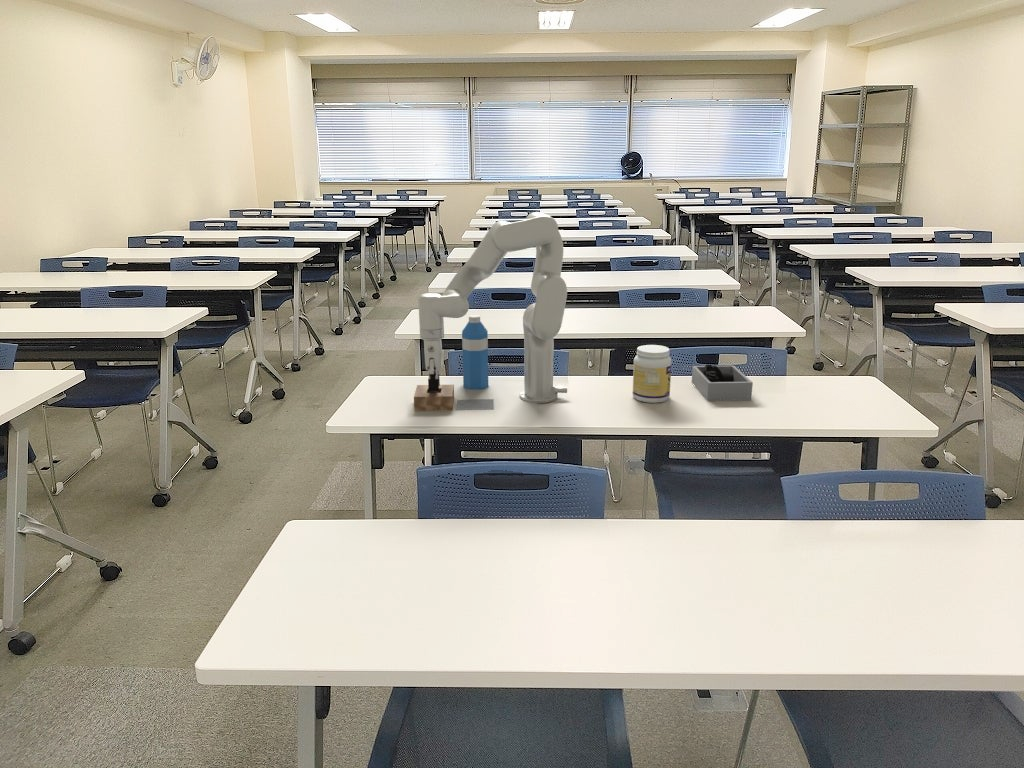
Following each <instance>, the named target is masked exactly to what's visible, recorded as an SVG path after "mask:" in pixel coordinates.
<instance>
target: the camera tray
mask: <svg viewBox="0 0 1024 768" xmlns="http://www.w3.org/2000/svg"><path fill="white" fill-rule="evenodd" d="M716 366H717V367H718V368H719V369H720V370H721V373H730V374H733V377H734V382H710V381H709V380H708V379H707V378H706V377H705V376H704V375H703V369H704V367H705V365H693V366H692V368H691V369H692V370H691V373H692V374H691V384H692V383H693V384H694V385H695V386H694V385H693V384H692V385H693V386H694V387H695V388H696V389H697V391H698V390H699V391H700V392H699V391H698V392H699V393H700V395H702V397H703V398H704V399H705V400H706V401H710V402H711V401H713V402H714V401H716V402H717V401H751V400H752V393H753V385H754V384H753V383H754V382H753V381H752V380H750V379H749V378H748V377H747V375H745V374H744V373H743V372H742V371H741V370H739V369H738V368H737V367H736V365H716Z"/></svg>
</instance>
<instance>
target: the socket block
mask: <svg viewBox="0 0 1024 768" xmlns="http://www.w3.org/2000/svg"><path fill="white" fill-rule="evenodd" d="M415 388H416V389H415V391H414V393H413V409H414V410H413V411H415V412H423V411H425V412H427V411H436V412H437V411H453V409H454V402H455V385H454V384H440V386H439V393H430V391H429V388H428V384H416V387H415Z"/></svg>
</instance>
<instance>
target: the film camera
mask: <svg viewBox="0 0 1024 768" xmlns="http://www.w3.org/2000/svg"><path fill="white" fill-rule="evenodd" d="M704 366H705V367H704V369H703V375H704V376H705V377H706V378H707V379H708V380H709V381H710V382H734V377H733V374H730V373H721V370H720V369H719V368H718V367H717V366H718V365H712V364H706V365H704Z"/></svg>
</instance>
